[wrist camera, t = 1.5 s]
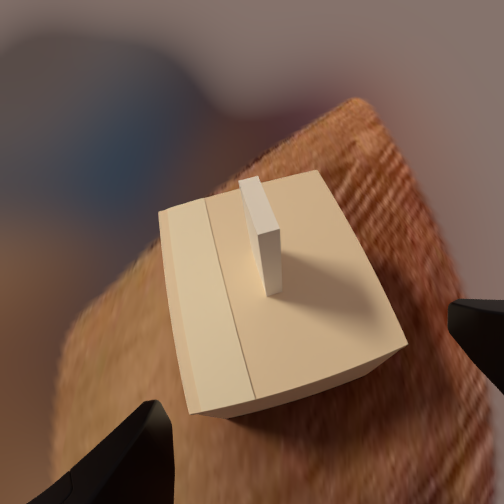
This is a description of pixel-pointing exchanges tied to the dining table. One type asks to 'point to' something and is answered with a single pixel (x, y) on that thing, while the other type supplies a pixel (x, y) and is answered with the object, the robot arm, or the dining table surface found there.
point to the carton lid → (269, 292)
